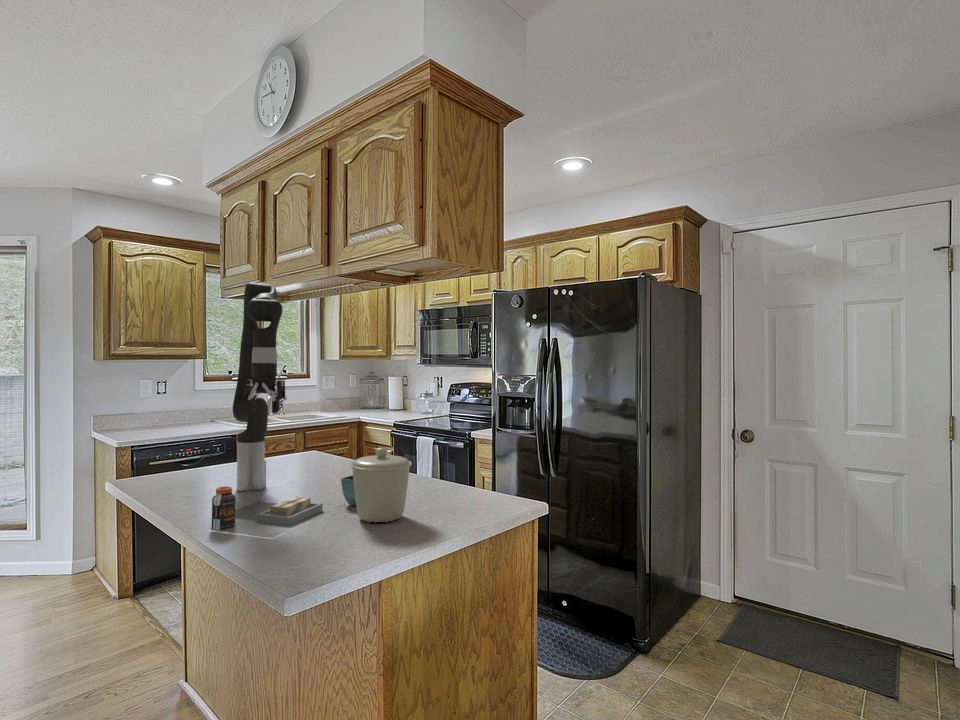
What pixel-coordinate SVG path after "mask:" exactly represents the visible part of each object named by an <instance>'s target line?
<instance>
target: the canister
mask: <svg viewBox="0 0 960 720" xmlns="http://www.w3.org/2000/svg"><path fill="white" fill-rule="evenodd" d="M374 453H375V455H367V456H362V457H359V458H356V459H355V460H354V461H353V462H350V464H349V466H350V468H352V475H353V481H354V491H355V500H356V513H357V515H358V517H359V518H360V520H362V521H364V522H366V521H367V523H370V522H375V523H374V524H377V523H376V522H386V523H390V522H389V521H391V522H394V521H393V520H395V521H397V520H399V519H401V517H402V516H403V514H404V511H405V508H406V507H405V505H406V501H407V500H406V499H407V492H408V486H409V485H408V484H409V483H408V482H409V477H410V475H409V474H410V467H411V466H412V464H413V463H412V461H410V460H408V459H407V458H406V457H404V456H400V455H392V454H391V455H390V454H388V450H387V449H386V447H377V448H376V450H375V452H374ZM396 519H397V520H396Z"/></svg>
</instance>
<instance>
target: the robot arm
mask: <svg viewBox="0 0 960 720" xmlns="http://www.w3.org/2000/svg"><path fill="white" fill-rule="evenodd" d="M277 293H278V292H277V289H276V287H275V286H274V285H271V284H267V283H261V282H252V281H250V282H247V283H246V285H245V288H244V294H243V317H242V318H243V319H242V320H243V322H242V323H243V324H242V331H241V332H242V333H241V341H240V349H239V350H240V351H239V364H238V374H237V380H236V381H237V382H236V388H235V393H234V397H233V398H234V399H233V402H232V403H233V404H232V415H233V418H234V419H235V420H236V421H237V422H241V423H246V429H245V430H244V431H241V432H239V433H238V434H237V437H236V440H237V441H236V442H237V443H236V447H237V448H236V452H237V453H236V490H237V491H239V492H252V491H253V492H254V491H260V490H262V489H264V488H265V487H267V460H265V456H266V455H265V453H266V452H265V450H266V449H265V447H266V446H265V445H266V444H265V441H266V440H265V439H266V434H267V432H268V423H269V422H268V421H269V420H268V419H269V407H268V402H267V401H266V399H264V398H263V397H258V396H259V395H261V394H267V395H268V396H269V397H270V398H271V400H272V402H271V413H272V414H278V413H279V411H280V402H281V401H282V400H284V399H286V382H285V380H284V379H281V380H280V379H279V380H277V378H276V377H277V376H278V352H277V335H278V327H279V324H280V321H281V318H282V315H283V311H284V310H283V305H282V303H281V302H280V301H279V300H277V299H278V296H277ZM258 322H269V323H270V324H269V325H268V326H267V327H262V328H260V327H259V325H258Z"/></svg>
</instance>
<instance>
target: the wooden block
mask: <svg viewBox="0 0 960 720" xmlns="http://www.w3.org/2000/svg"><path fill="white" fill-rule="evenodd" d="M277 503H278V502H277ZM310 503H311V497H304V496H303V497H302V496H295V497H292V498H289V499H287V500H284V501H282V502H279V503H278V504H276V505H273V506H271V515H280V516H292V515H294V514H296V513H299V512H301V511H303V510H306V509H308V508H310Z"/></svg>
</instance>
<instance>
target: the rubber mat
mask: <svg viewBox="0 0 960 720" xmlns="http://www.w3.org/2000/svg"><path fill="white" fill-rule="evenodd" d="M276 504H278V502H268V501H260V500H259V501H256V502H254V503H251V504H247V505H244V506H242V507H240V508H235V519H240V520H248V521H254V522H255V521H256V522H257V514H259V513H262V512H264V511H267V510H269V509H271V506H273V505H276Z"/></svg>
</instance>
